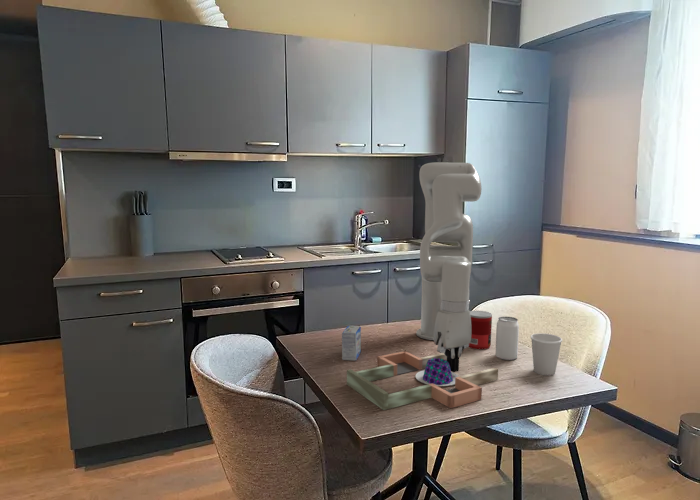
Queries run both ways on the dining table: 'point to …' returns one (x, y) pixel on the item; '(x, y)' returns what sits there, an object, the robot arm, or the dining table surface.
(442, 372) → the pudding
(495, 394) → the dining table surface
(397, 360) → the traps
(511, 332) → the can
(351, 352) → the medicine box
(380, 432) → the dining table surface
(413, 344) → the dining table surface
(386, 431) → the dining table surface
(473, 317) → the canned food
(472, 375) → the track
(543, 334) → the dixie cup
